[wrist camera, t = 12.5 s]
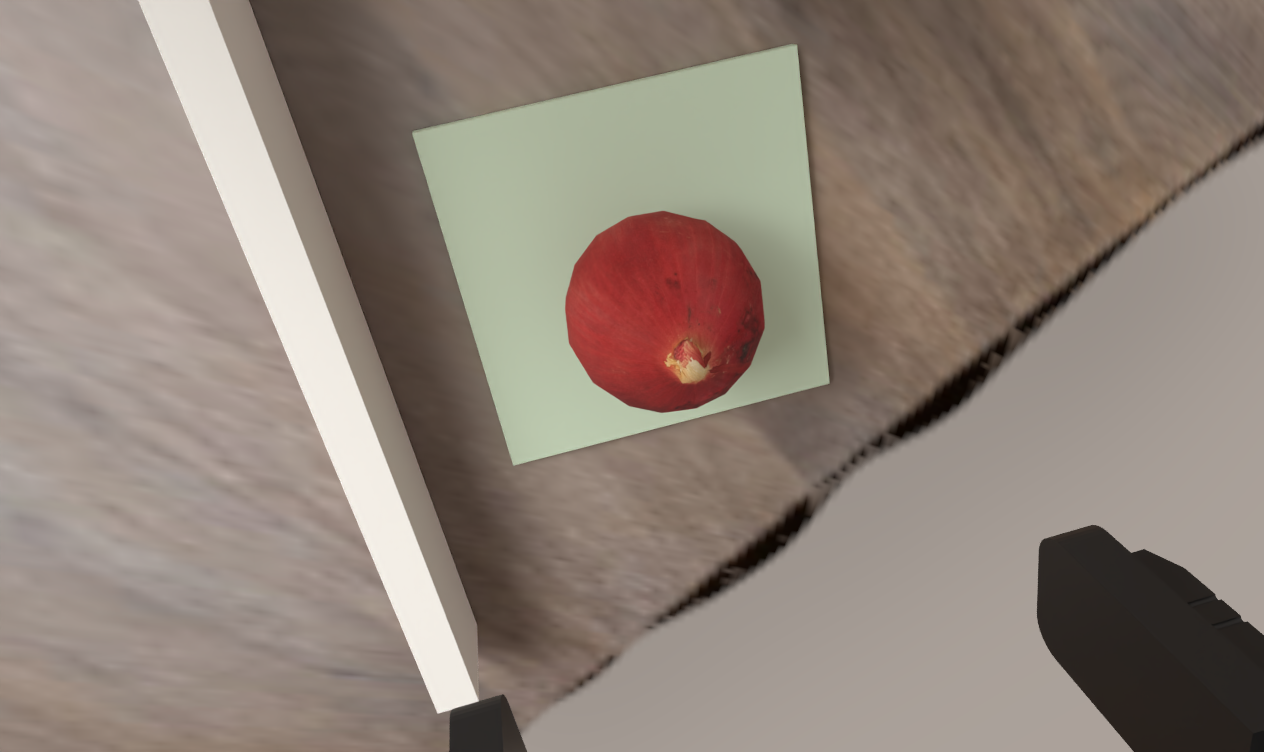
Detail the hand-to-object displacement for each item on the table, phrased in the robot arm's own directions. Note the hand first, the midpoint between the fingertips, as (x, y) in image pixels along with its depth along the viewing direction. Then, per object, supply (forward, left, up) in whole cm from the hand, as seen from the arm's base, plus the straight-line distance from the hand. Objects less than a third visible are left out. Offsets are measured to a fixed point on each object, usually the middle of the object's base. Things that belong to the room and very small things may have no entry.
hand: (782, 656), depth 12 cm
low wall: (+1, -9, -18) cm, 20 cm away
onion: (+1, +1, -18) cm, 18 cm away
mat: (+1, +1, -18) cm, 18 cm away
